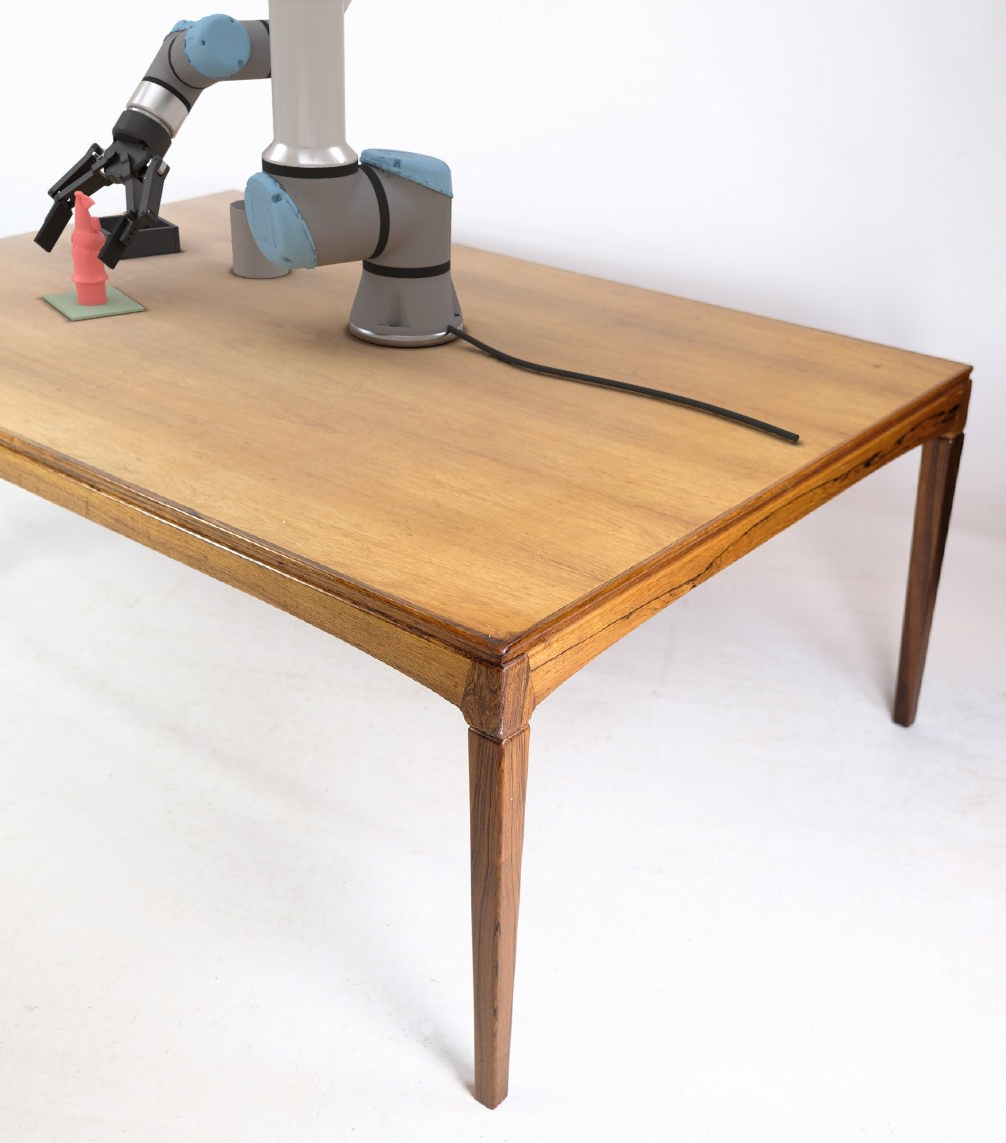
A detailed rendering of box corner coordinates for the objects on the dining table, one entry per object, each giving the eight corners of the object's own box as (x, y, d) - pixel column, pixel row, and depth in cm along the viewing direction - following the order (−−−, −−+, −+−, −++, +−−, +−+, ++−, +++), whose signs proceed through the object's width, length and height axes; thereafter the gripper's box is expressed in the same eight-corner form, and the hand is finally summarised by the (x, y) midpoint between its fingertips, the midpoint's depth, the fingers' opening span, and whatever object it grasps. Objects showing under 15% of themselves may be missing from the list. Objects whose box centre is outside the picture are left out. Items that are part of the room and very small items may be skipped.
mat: (144, 310, 178) (144, 307, 178) (72, 321, 173) (72, 318, 173) (112, 289, 187) (112, 286, 186) (43, 298, 181) (43, 295, 181)
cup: (294, 265, 201) (292, 200, 197) (281, 279, 194) (278, 212, 189) (241, 262, 202) (237, 197, 197) (226, 276, 195) (222, 209, 190)
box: (180, 251, 206) (178, 226, 204) (110, 260, 200) (107, 234, 198) (153, 236, 214) (150, 211, 213) (84, 243, 208) (81, 218, 207)
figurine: (120, 300, 180) (109, 191, 173) (92, 309, 177) (79, 197, 170) (94, 294, 183) (82, 185, 176) (66, 302, 179) (52, 191, 172)
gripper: (227, 154, 176) (152, 287, 172) (106, 131, 188) (33, 255, 184) (195, 117, 169) (116, 254, 165) (72, 96, 181) (-4, 224, 177)
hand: (72, 255), depth 174 cm, fingers open, 12 cm apart
